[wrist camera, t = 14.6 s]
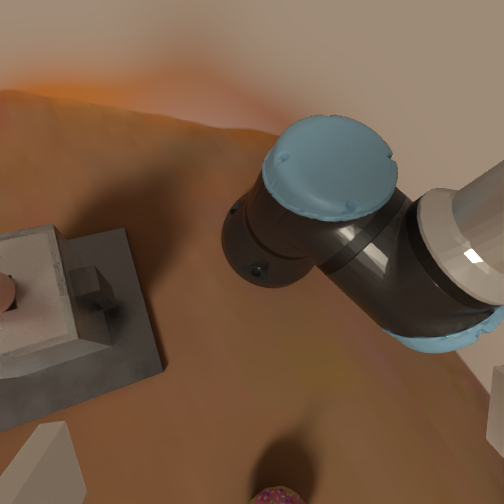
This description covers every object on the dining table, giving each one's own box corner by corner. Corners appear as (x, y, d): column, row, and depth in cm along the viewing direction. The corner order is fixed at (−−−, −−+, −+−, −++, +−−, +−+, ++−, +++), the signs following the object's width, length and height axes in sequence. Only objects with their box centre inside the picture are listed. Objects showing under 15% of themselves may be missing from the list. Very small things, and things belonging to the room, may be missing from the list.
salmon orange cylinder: (69, 300, 40) (-55, 226, 18) (76, 329, 39) (-47, 288, 17) (36, 309, 39) (-140, 242, 17) (42, 339, 38) (-135, 310, 16)
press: (124, 229, 46) (101, 162, 30) (163, 371, 42) (159, 378, 26) (-46, 268, 40) (-185, 209, 24) (-21, 439, 36) (-173, 502, 20)
